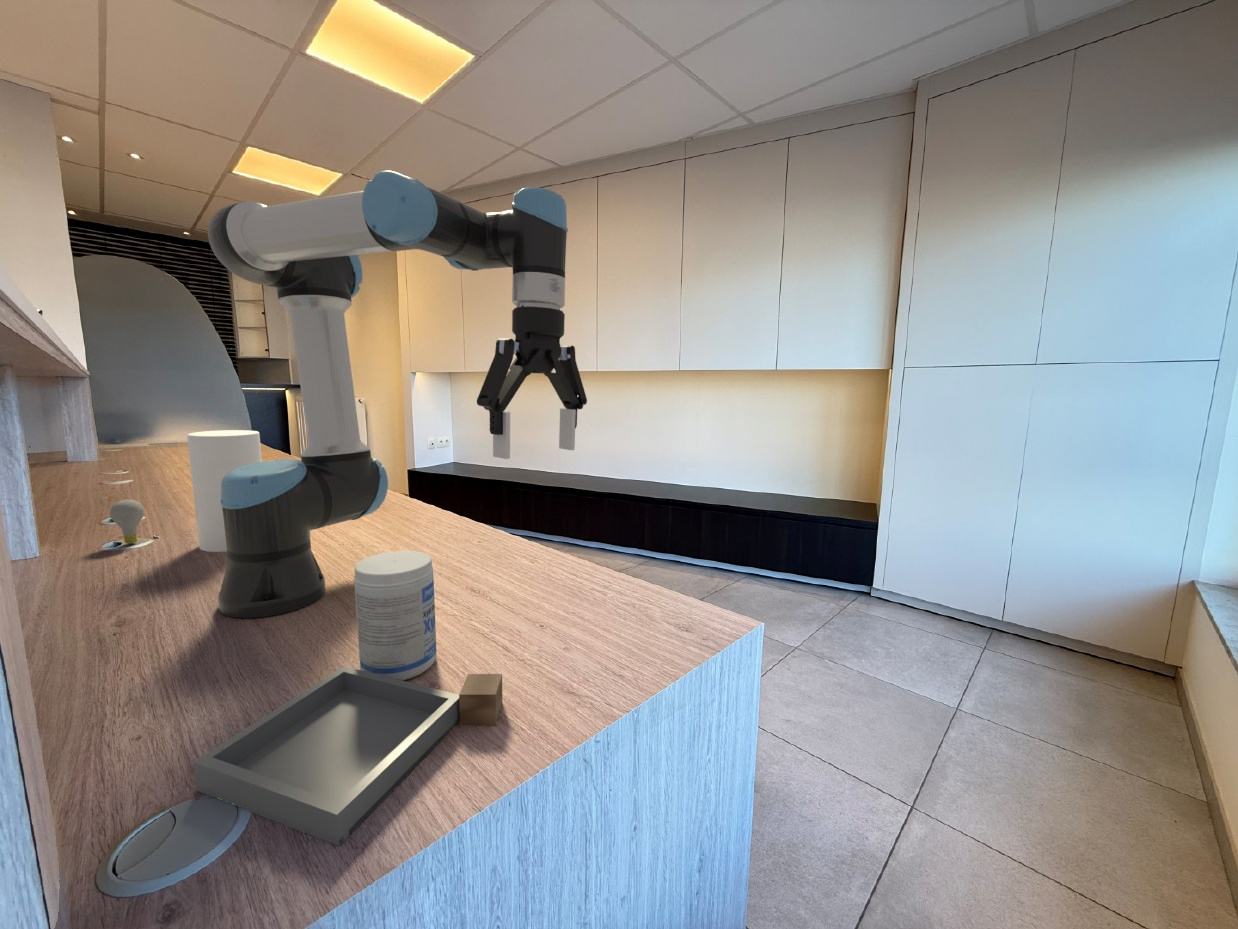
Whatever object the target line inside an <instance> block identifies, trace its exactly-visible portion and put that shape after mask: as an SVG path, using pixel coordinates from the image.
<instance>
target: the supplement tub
mask: <svg viewBox="0 0 1238 929" xmlns="http://www.w3.org/2000/svg"><path fill="white" fill-rule="evenodd" d="M353 579H354V580H353V581H354V582H353V583H354V585H353V586H354V598H355V613H356V615H355V616H356V627H357V628H356V629H357V642H358V644H357V645H358V656H359V657H358V658H359V659H358V660H359V670H362V671H366V672H370V673H374V674H378V675H382V676H386V677H390V678H394V679H398V680H402V681H406V680H410V679H412V678H415V677H417V676H420V675H421V674H423V673H424V672H426V671H427V670H429V668H431V667H432V666H433V665H434V663H435V661H436V658H437V634H436V633H437V632H436V631H437V630H436V628H437V627H436V607H435V585H434V584H435V582H434V581H435V580H434V567H433V560H432V557H431V556H430V555H429V554H428V553H426V552H422V551H415V550H396V551H388V552H382V553H377V554H373V555H370V556H367V557H365V558H363V559H361V560H359V561H358V562H357V563H356V564H355V566H354V577H353Z"/></svg>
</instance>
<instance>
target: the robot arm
mask: <svg viewBox="0 0 1238 929" xmlns="http://www.w3.org/2000/svg"><path fill="white" fill-rule="evenodd" d="M567 222H568V220H567V202H566V200H565V199H564V198H563V196H562V195H560V194H559V193H557V192H556V191H554V190H551V189H547V188H543V187H523V188H521V189H520V190H517V191H515V193H514V194H513V197H512V204H511V209H508V210H503V211H499V212H497V211H495V212H484V211H483V212H482V211H481V210H478V209H476V208H474V207H471V206H470V205H468V204H465V203H463V202H462V201H459V200H457V199H454V198H453V197H450V196H448V195H446V194H444V193H442V192H440V191H438V190H436V189H434V188H432V187H430V186H428V185H427V184H425V183H422V182H421V181H420V180H418V179H415V178H413V177H411V176H409V175H403V174H402V173H399V172H396V171H392V170H382V171H379V172H377V173H375V174H374V177H373V178H372V179H370V180H368V181H367V182H366V185H365V186H364V189H363V190H360V191H351V192H348V193H347V192H346V193H341V194H336V195H335V194H334V195H329V196H323V197H318V198H311V199H304V200H299V201H292V202H287V203H280V204H275V205H268V206H267V205H266V204H263V203H261V202H258V201H252V200H251V201H243V202H239V203H238V202H237V203H232V204H228V205H226V206H223V207H221V208H220V209H219V210H217V211H216V212H215V213H214V214H213V216H212V217H211V218H210V220H209V223H208V226H207V237H208V243H209V245H210V248H211V251H212V252H213V253H214V256H215V258H217V260H218V261H219V263H221V265H222V266H224V267H225V268H226V269H228V271H229V272H231V273H233V274H234V275H236V276H237V277H239V278H241V279H242V280H245V281H248V282H250V283H253V284H258V285H263V286H267V287H273V288H276V293H277V299H278V303H279V304H280V305H281V306H282V307H283V308H284V309H286V310H287V311H288V312H289V314H290V320H291V328H292V335H293V342H294V348H295V349H294V350H295V355H296V363H297V370H298V377H299V384H300V391H301V400H302V407H303V413H304V420H305V426H306V434H307V442H308V443H307V446H306V447H305V449H304V450H303V451H302V452H301V453H300V460H299V459H294V458H283V459H273V460H264V461H262V462H257V463H253V464H249V465H245V466H242V467H239V468H236V469H234V470H232V471H230V472H229V473H227V474H226V475H225V476H224V478H223V479H222V482H221V500H220V502H221V506H222V509H223V518H224V527H225V536H226V545H227V552H226V553H227V554H226V555H227V565H226V568H225V572H224V575H223V579H222V583H221V586H220V591H219V593H218V595H217V596H218V597H217V599H218V609H219V612H220V613H221V614H222V615H224V616H227V617H231V618H236V619H237V618H239V619H240V618H241V619H253V618H256V619H257V618H263V617H265V618H266V617H272V616H277V615H281V614H285V613H290V612H294V611H296V610H299V609H302V608H305V607H307V606H308V605H312V604H313V603H315V602H316V601H318V600H320V599H321V598H322V597H323V596H324V595H325V593H326V591H327V589H326V580H325V576H324V574H323V573H322V570H321V568H320V565H319V564H318V561H317V559H316V557H315V556H314V554H313V551H312V545H311V531H314V530H317V529H321V528H326V527H328V526H332V525H336V524H339V523H344V522H348V521H356V520H358V519H361V518H363V517H365V516H368V515H371V514H373V513H374V512H376V511H378V509H379V508H380V507H381V506H382V504H383V503H384V502H385V501H386V497H387V494H388V489H389V479H388V473H387V470H386V469H385V467H384V466H382V464H383V463H382V462H381V461H380V460H379V459H378V458H376V457H373V456H372V455H371V448H370V447H369V446H368V445H366V444H365V443H364V442H362V440H361V437H360V436H361V435H360V428H359V421H358V419H359V418H358V414H357V404H356V396H355V389H354V382H353V381H354V380H353V373H352V366H351V364H352V363H351V358H350V351H349V348H350V347H349V342H348V335H347V334H348V332H347V327H346V326H347V325H346V318H345V313H346V312H347V311H348V309H350V308H351V307H352V304H353V303H352V302H353V301H352V299H353V298H354V297H355V296H356V295H357V294H358V292H360V289H361V287H360V285H361V284H362V283H363V267H362V262H361V259H360V257H359V255H367V254H368V255H369V254H377V253H386V252H401V251H402V252H403V251H410V250H411V251H412V250H418V251H419V250H420V251H424V252H428V253H431V254H433V255H438V256H441V257H443V258H444V260H446V261H447V262H448V263H449V265H450V266H451V267H453V268H455V269H458V270H470V271H472V272H475V271H479V270H480V271H481V270H490V269H504V268H506V269H507V268H512V283H511V284H512V292H511V294H512V295H511V302H512V304H514V305H515V307H514V308H513V309H512V310H511V314H512V315H511V332H512V334H513V335H515V338H514V339H513V338H498V339H497V340H496V342H495V352H494V356H493V359H492V362H491V363H490V365H489V368H488V371H487V373H486V377H485V378H484V382H483V384H482V386H481V389H480V391H479V394H478V396H477V399H476V404H477V405H478V406H479V407H483V408H484V410H486V411H488V413H489V432H490V434H491V435H492V456H493V458H499V459H502V460H503V459H504V460H508V459H511V458H510V457H511V412H509V411H505V410H506V409H507V408H508V406H509V404H510V403H511V401H512V400H513V398H514V397H515V396H516V394H517V392H518V391H519V389H520V387H521V385H522V384H523V383H524V381H525V380H526V378H527V377H528V376H530V375H531V374H541V375H543V374H544V376H545V377H547V378H548V380H549V383H550V384H551V385H552V387H553V389H554V391H555V392H556V394H557V396H558V398H559V400H560V401H561V403H562V405H563V408H559V436H558V438H559V439H558V448H559V449H560V450H561V449H562V450H567V451H575V445H576V443H575V442H576V441H575V440H576V428H577V427H578V410H582V409H584V405H586V404H588V403H587V402H588V398H587V395H586V392H585V388H584V384H583V380H582V377H581V374H580V371H579V368H578V364H577V360H576V346H574V345H561V342H560V339H561V338H563V336H564V335H565V316H566V315H565V313H564V311H563V310H561V309H562V308H564V307H565V304H566V303H565V302H566V300H565V298H566V296H565V295H566V257H567V256H566V255H567V253H566V252H567V235H568V234H567V233H568V232H569V230H568V226H567V225H568V224H567ZM514 355H515V359H514ZM513 359H514V360H513Z"/></svg>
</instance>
